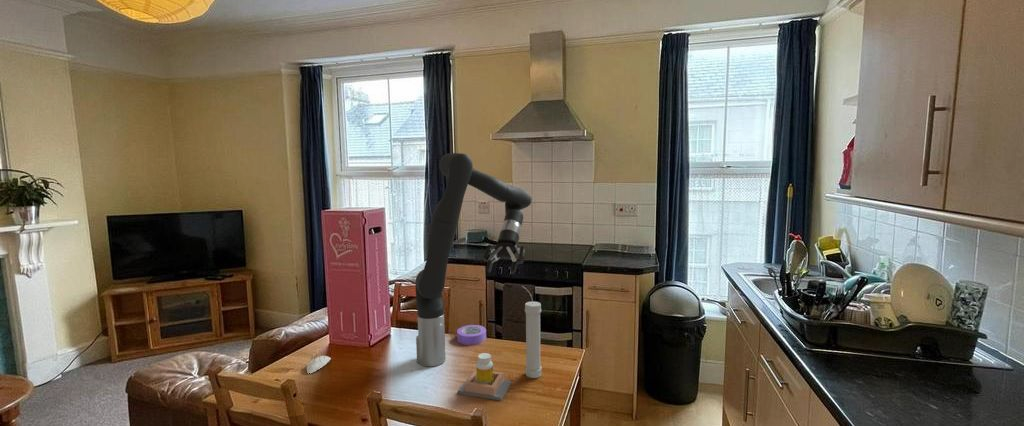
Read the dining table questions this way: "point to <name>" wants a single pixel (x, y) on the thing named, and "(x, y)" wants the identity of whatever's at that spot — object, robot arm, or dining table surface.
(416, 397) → the dining table surface
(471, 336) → the masking tape
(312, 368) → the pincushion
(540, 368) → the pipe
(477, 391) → the holder
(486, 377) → the supplement bottle
